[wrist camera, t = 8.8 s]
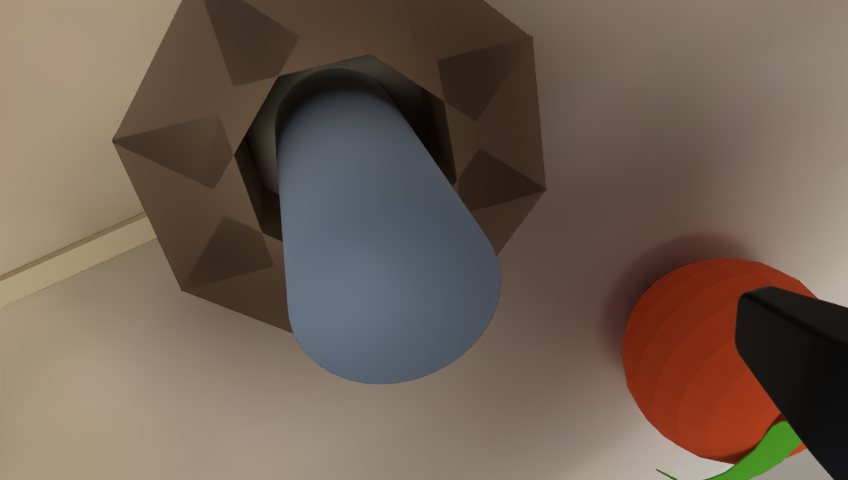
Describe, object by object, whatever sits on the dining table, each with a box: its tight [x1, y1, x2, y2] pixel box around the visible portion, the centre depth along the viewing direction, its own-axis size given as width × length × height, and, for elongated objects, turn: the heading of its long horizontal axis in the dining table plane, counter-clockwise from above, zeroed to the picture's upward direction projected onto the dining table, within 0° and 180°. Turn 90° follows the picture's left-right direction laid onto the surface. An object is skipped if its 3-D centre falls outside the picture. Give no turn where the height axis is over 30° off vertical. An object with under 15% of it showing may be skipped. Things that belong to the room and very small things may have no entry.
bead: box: [112, 0, 546, 333], centre depth 17 cm, size 10×10×3 cm
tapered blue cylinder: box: [275, 68, 501, 384], centre depth 14 cm, size 4×4×9 cm
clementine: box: [622, 258, 818, 480], centre depth 21 cm, size 8×7×7 cm
